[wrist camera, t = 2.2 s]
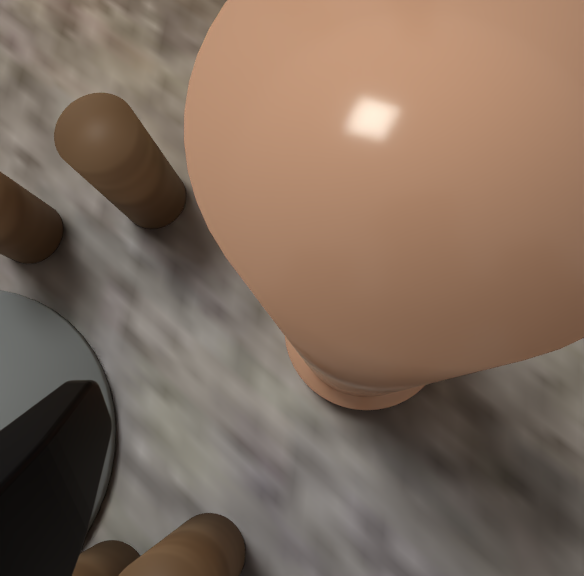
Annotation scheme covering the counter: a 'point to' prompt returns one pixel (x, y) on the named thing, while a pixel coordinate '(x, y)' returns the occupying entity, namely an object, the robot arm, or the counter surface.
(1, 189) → the peg
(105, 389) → the slate coaster
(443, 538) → the counter surface
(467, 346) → the terracotta vase
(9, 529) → the robot arm
